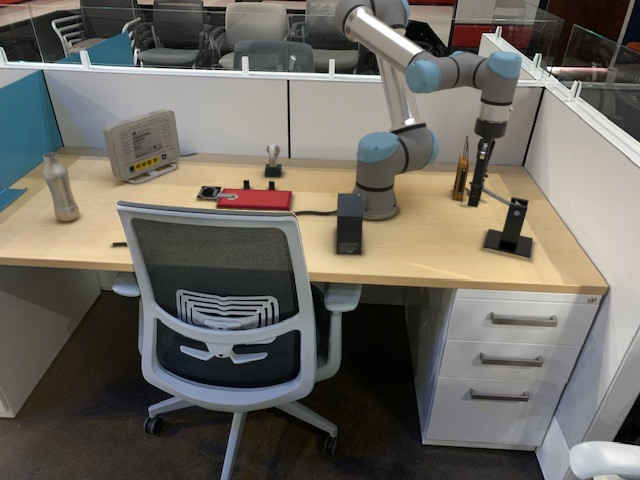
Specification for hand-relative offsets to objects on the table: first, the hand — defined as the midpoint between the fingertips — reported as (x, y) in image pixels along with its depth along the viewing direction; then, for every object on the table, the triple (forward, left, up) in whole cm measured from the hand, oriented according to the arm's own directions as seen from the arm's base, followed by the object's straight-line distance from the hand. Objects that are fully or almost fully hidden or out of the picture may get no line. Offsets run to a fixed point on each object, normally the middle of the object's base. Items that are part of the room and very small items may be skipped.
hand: (473, 202), depth 131 cm
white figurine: (-40, +59, -11) cm, 72 cm away
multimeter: (+16, +21, -11) cm, 29 cm away
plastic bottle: (-106, +48, -11) cm, 117 cm away
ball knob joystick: (+3, -3, +1) cm, 5 cm away
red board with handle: (-54, +44, -11) cm, 71 cm away
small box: (-33, +9, -11) cm, 36 cm away
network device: (-81, +74, -11) cm, 110 cm away
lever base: (+8, -8, -11) cm, 16 cm away
